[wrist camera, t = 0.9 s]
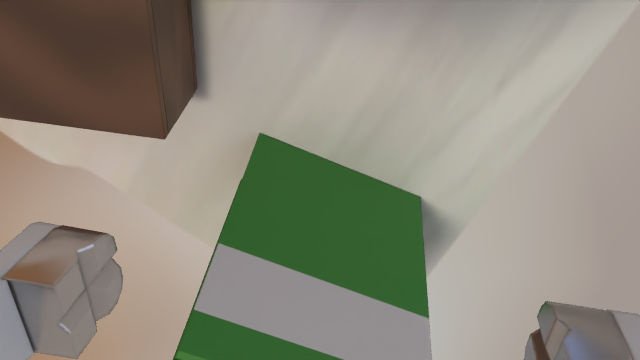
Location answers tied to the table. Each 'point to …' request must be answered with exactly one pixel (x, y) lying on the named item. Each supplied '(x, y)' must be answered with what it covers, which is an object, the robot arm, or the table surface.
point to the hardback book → (312, 267)
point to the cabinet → (97, 63)
